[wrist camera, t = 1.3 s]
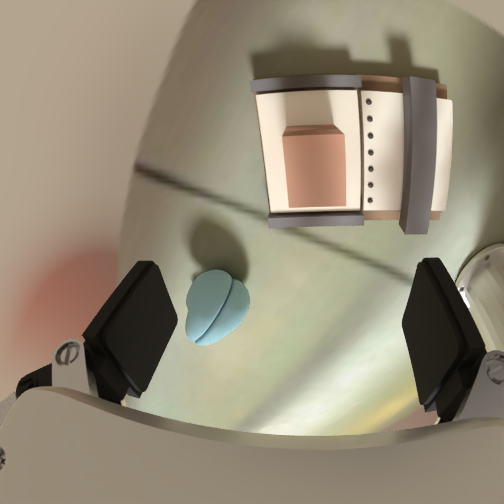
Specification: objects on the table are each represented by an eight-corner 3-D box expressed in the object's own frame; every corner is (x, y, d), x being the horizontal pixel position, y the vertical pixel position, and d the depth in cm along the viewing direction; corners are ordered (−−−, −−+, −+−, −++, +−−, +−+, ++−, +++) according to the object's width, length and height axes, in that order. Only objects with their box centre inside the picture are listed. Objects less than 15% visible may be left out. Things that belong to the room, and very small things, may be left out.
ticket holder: (439, 84, 18) (462, 85, 14) (433, 213, 25) (450, 233, 21) (255, 80, 22) (246, 77, 18) (272, 216, 29) (267, 237, 25)
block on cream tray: (354, 90, 19) (375, 89, 14) (358, 206, 25) (373, 243, 19) (257, 95, 21) (241, 95, 15) (271, 208, 27) (262, 246, 21)
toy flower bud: (152, 346, 32) (186, 302, 25) (177, 298, 39) (215, 247, 32) (200, 373, 33) (249, 339, 26) (218, 323, 40) (265, 280, 33)
